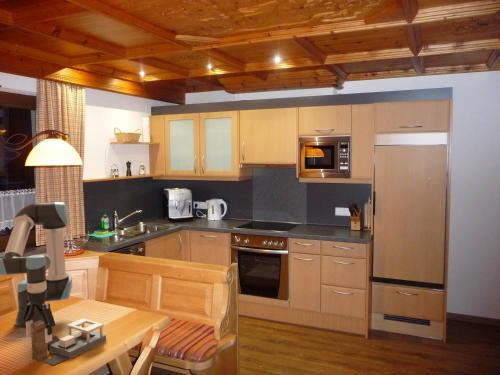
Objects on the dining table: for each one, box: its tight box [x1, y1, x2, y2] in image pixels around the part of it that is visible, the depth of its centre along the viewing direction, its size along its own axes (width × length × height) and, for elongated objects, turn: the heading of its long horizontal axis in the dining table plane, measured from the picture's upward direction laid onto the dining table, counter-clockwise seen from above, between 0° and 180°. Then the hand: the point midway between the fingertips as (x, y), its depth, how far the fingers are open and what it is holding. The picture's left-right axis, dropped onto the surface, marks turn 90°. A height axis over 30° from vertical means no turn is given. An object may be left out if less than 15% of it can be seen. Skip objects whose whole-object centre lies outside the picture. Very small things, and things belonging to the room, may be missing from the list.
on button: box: [59, 334, 75, 348], centre depth 189 cm, size 4×5×3 cm
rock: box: [48, 335, 60, 349], centre depth 194 cm, size 11×10×4 cm
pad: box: [42, 354, 69, 367], centre depth 181 cm, size 7×7×1 cm
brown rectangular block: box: [30, 320, 49, 362], centre depth 183 cm, size 4×4×16 cm
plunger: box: [80, 325, 90, 337], centre depth 198 cm, size 4×4×4 cm
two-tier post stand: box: [49, 318, 107, 359], centre depth 194 cm, size 15×20×9 cm
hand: (39, 338), depth 182 cm, fingers open, 13 cm apart
